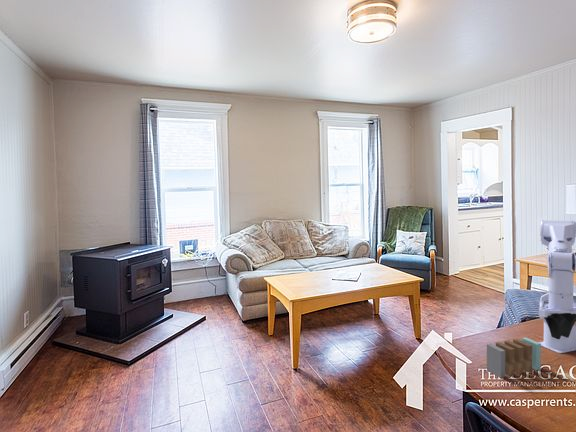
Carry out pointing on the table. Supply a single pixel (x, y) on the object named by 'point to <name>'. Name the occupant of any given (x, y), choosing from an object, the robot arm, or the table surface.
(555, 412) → the table surface
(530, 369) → the domino
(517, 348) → the domino
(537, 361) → the teal domino
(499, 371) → the charcoal domino
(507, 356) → the domino
